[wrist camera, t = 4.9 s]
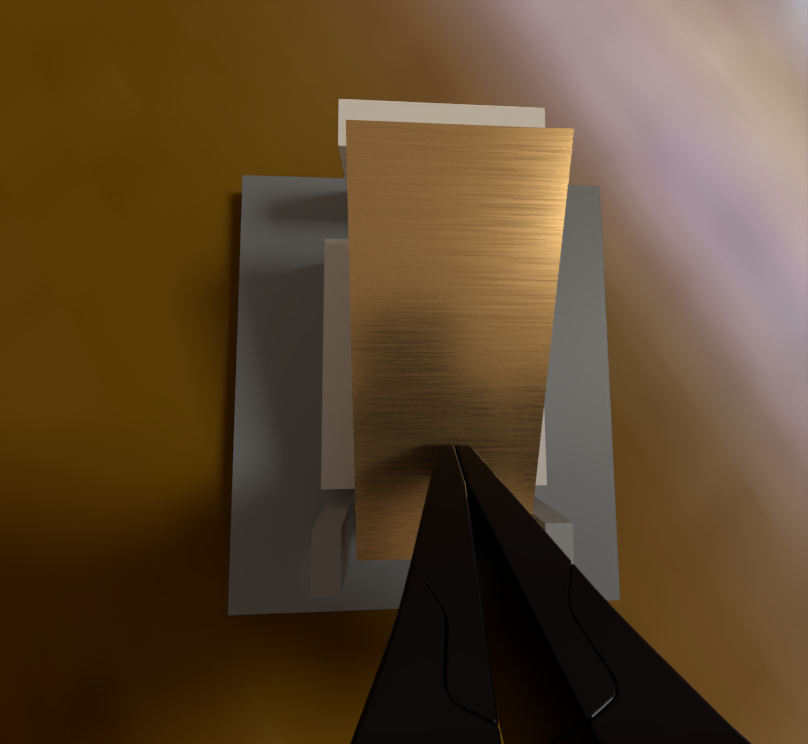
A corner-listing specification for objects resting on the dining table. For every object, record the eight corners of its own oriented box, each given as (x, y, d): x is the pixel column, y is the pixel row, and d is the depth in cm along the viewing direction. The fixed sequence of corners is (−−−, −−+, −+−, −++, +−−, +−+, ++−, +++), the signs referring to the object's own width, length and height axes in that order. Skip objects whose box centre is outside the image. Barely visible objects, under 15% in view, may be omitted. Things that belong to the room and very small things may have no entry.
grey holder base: (602, 584, 13) (732, 699, 8) (240, 597, 12) (142, 733, 7) (584, 200, 14) (688, 98, 9) (253, 191, 14) (176, 75, 9)
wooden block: (527, 555, 9) (574, 128, 7) (356, 561, 9) (345, 119, 7) (514, 531, 10) (550, 150, 8) (359, 535, 10) (351, 144, 8)
